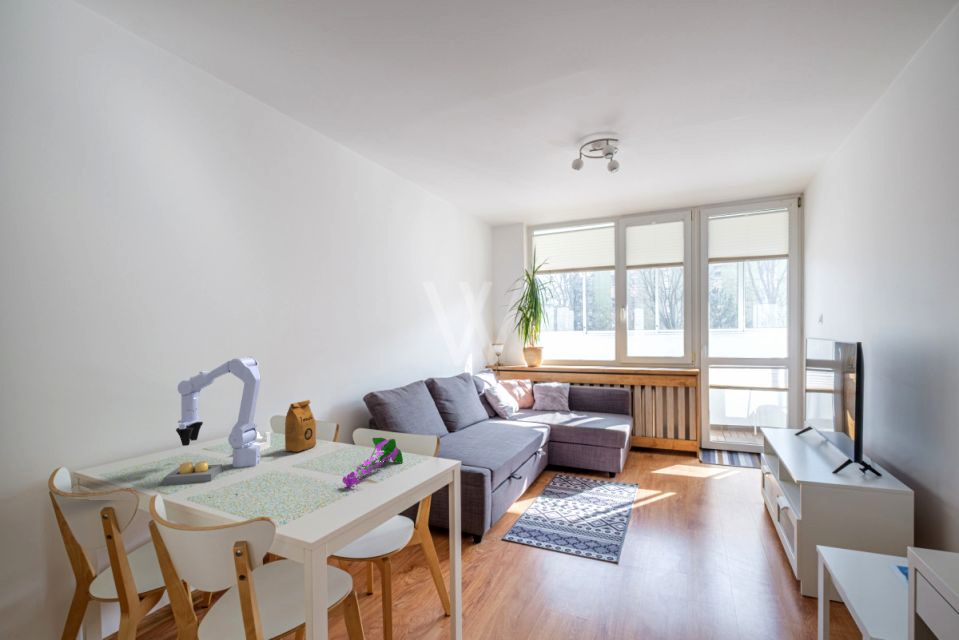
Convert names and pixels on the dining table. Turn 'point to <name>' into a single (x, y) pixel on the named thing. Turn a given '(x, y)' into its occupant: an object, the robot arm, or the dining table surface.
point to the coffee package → (300, 427)
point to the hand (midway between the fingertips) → (189, 442)
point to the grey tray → (192, 475)
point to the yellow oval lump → (186, 468)
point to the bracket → (262, 441)
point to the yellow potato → (201, 467)
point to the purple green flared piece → (389, 452)
